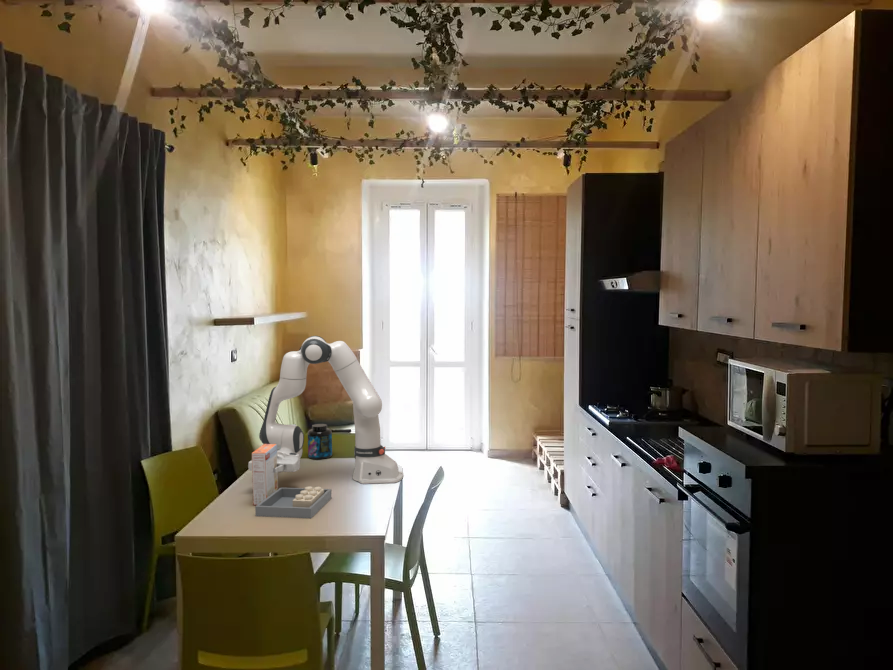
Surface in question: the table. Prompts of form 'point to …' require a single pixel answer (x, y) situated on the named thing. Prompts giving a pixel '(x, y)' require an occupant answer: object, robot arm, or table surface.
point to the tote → (289, 504)
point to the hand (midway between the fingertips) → (265, 470)
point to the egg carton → (308, 496)
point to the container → (319, 442)
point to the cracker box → (264, 472)
